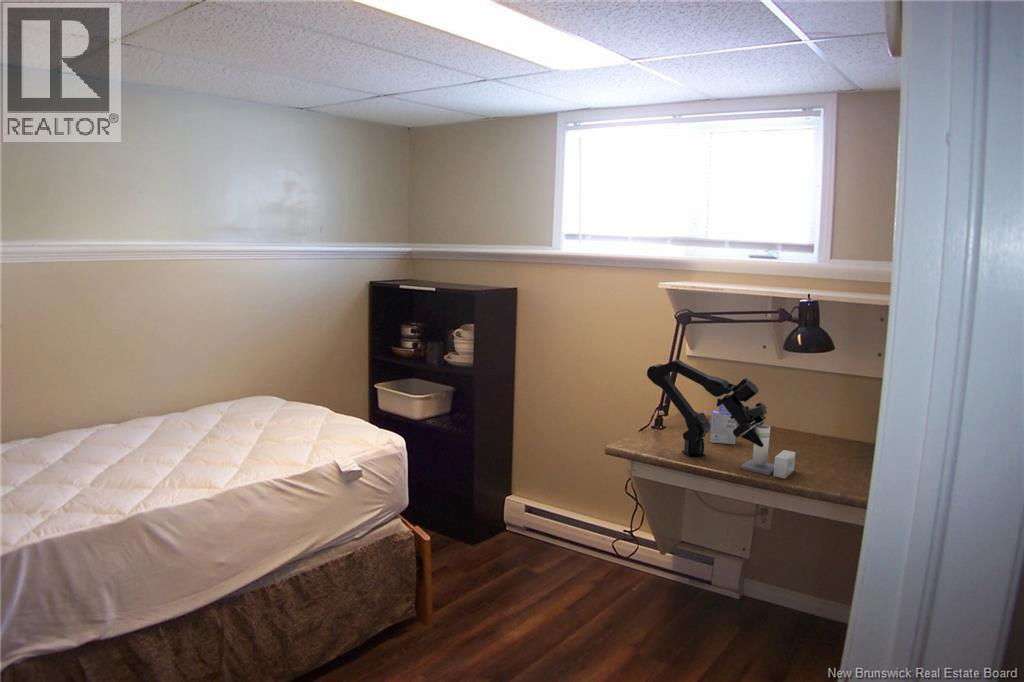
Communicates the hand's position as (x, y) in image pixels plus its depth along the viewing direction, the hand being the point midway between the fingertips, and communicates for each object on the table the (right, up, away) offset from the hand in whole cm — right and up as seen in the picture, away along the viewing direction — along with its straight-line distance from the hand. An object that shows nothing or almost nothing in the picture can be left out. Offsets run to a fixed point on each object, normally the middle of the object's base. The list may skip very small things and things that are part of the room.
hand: (765, 444), depth 252 cm
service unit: (+6, -10, -3) cm, 12 cm away
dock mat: (-1, -9, +2) cm, 9 cm away
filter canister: (-1, -6, +2) cm, 7 cm away
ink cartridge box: (-5, -4, +34) cm, 35 cm away
